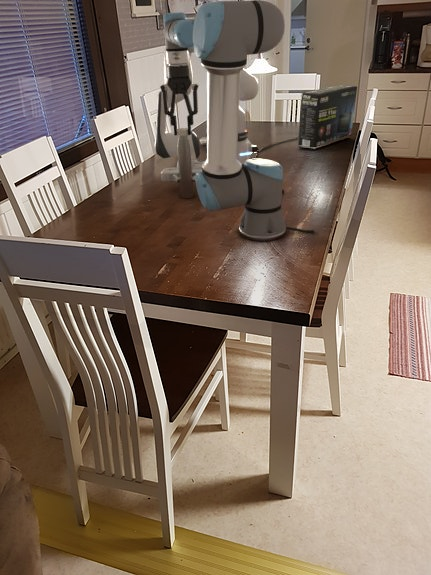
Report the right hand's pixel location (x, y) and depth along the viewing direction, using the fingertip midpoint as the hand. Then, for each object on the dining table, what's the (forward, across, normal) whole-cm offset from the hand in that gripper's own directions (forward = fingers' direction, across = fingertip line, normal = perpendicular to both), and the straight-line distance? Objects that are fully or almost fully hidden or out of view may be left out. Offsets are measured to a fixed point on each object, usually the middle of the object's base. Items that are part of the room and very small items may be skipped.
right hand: (182, 134), depth 169 cm
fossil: (+24, +4, +82) cm, 85 cm away
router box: (+24, +63, +81) cm, 105 cm away
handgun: (+24, +32, +11) cm, 41 cm away
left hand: (+17, 0, -1) cm, 17 cm away
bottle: (+24, 0, 0) cm, 24 cm away
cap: (-2, 0, 0) cm, 2 cm away
